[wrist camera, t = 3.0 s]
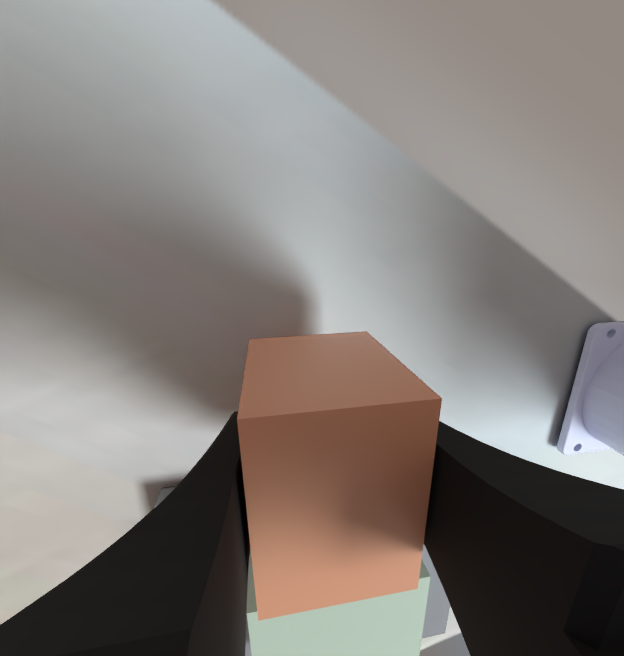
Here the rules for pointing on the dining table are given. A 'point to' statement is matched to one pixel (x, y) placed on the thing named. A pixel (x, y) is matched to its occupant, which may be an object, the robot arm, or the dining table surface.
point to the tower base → (351, 621)
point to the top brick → (333, 470)
